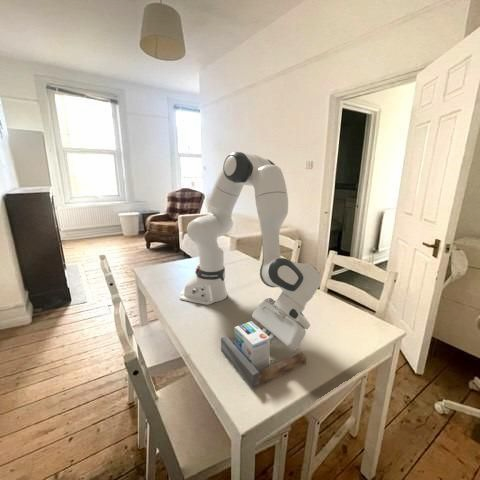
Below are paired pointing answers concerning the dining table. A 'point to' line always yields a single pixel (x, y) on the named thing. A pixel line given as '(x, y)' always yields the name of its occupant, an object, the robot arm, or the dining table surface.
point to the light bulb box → (253, 344)
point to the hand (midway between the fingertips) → (262, 344)
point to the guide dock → (250, 372)
